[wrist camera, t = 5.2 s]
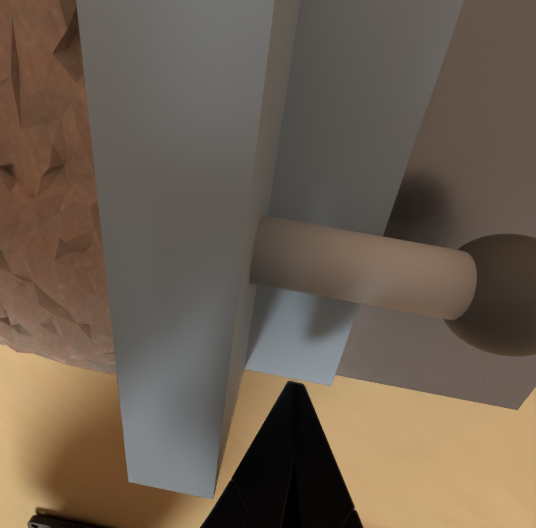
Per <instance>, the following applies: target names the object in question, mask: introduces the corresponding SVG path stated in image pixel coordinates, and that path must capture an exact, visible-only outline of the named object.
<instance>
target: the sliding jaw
mask: <svg viewBox="0 0 536 528" xmlns="http://www.w3.org/2000/svg"><path fill="white" fill-rule="evenodd" d="M463 2H464V0H76V3H77V13H78V22H79V31H80V40H81V49H82V59H83V68H84V77H85V86H86V95H87V105H88V114H89V123H90V132H91V141H92V151H93V160H94V169H95V178H96V187H97V197H98V206H99V215H100V224H101V234H102V243H103V252H104V261H105V270H106V280H107V289H108V298H109V307H110V316H111V326H112V335H113V344H114V353H115V362H116V372H117V381H118V390H119V399H120V409H121V418H122V427H123V436H124V445H125V455H126V464H127V473H128V482H131V483H136V484H141V485H146V486H150V487H155V488H160V489H165V490H170V491H174V492H179V493H184V494H189V495H194V496H198V497H203V498H208V499H213V498H214V493H215V489H216V485H217V481H218V477H219V472H220V468H221V464H222V460H223V456H224V451H225V447H226V443H227V439H228V435H229V430H230V426H231V422H232V418H233V414H234V409H235V405H236V401H237V397H238V393H239V388H240V384H241V380H242V376H243V371H244V369H246V370H251V371H256V372H261V373H267V374H272V375H277V376H282V377H287V378H292V379H297V380H303V381H308V382H313V383H318V384H323V385H328V386H331V385H332V382H333V379H334V376H335V373H336V370H337V367H338V365H339V362H340V359H341V356H342V353H343V350H344V347H345V344H346V341H347V338H348V336H349V333H350V330H351V327H352V324H353V321H354V318H355V315H356V312H357V309H358V307H359V304H360V303H361V304H367V305H372V306H377V307H383V308H388V309H393V310H399V311H404V312H410V313H415V314H420V315H426V316H431V317H437V318H442V319H443V320H444V322H445V323H446V324H447V326H448V327H449V328H450V330H451V331H453V332H454V333H455V334H456V335H457V336H458V337H459V338H460V339H462V340H463V341H465V342H466V343H468V344H469V345H471V346H473V347H475V348H477V349H480V350H482V351H485V352H488V353H492V354H496V355H501V356H511V357H523V356H531V355H536V238H534V237H530V236H526V235H520V234H495V235H489V236H484V237H481V238H478V239H475V240H473V241H470V242H468V243H466V244H465V245H463V246H461V247H460V248H458V249H457V250H455V249H450V248H444V247H439V246H433V245H427V244H422V243H416V242H411V241H405V240H400V239H394V238H388V237H383V234H384V231H385V228H386V225H387V222H388V220H389V217H390V214H391V211H392V208H393V205H394V202H395V199H396V196H397V193H398V191H399V188H400V185H401V182H402V179H403V176H404V173H405V170H406V167H407V164H408V162H409V159H410V156H411V153H412V150H413V147H414V144H415V141H416V138H417V135H418V133H419V130H420V127H421V124H422V121H423V118H424V115H425V112H426V109H427V106H428V104H429V101H430V98H431V95H432V92H433V89H434V86H435V83H436V80H437V77H438V75H439V72H440V69H441V66H442V63H443V60H444V57H445V54H446V51H447V48H448V46H449V43H450V40H451V37H452V34H453V31H454V28H455V25H456V22H457V19H458V17H459V14H460V11H461V8H462V5H463Z"/></svg>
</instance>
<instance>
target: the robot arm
mask: <svg viewBox="0 0 536 528" xmlns="http://www.w3.org/2000/svg"><path fill="white" fill-rule="evenodd" d="M354 509H355V506H354V504H353V501H352V499H351V496H350V494H349V492H348V489H347V487H346V484H345V482H344V479H343V477H342V475H341V472H340V470H339V467H338V465H337V463H336V460H335V458H334V455H333V453H332V450H331V448H330V446H329V443H328V441H327V438H326V436H325V433H324V431H323V429H322V426H321V424H320V421H319V419H318V417H317V414H316V412H315V409H314V407H313V404H312V402H311V400H310V397H309V395H308V392H307V390H306V387H305V386H304V384H302V383H297V382H293V381H288V382H287V384H286V385H285V387H284V389H283V390H282V392H281V394H280V396H279V397H278V399H277V401H276V402H275V404H274V406H273V408H272V409H271V411H270V413H269V414H268V416H267V418H266V420H265V421H264V423H263V425H262V427H261V428H260V430H259V432H258V433H257V435H256V437H255V439H254V440H253V442H252V444H251V445H250V447H249V449H248V451H247V452H246V454H245V456H244V457H243V459H242V461H241V463H240V464H239V466H238V468H237V470H236V471H235V473H234V475H233V476H232V478H231V481H229V483H228V485H227V486H226V488H225V490H224V491H223V493H222V495H221V496H220V498H219V500H218V501H217V503H216V504H215V506H214V508H213V509H212V511H211V512H210V514H209V516H208V517H207V518H206V520H205V521H204V523H203V524H202V525H201V527H200V528H363V525H362V523H361V520H360V518H359V515H358V513H357V511H356V510H354ZM353 510H354V511H353ZM27 525H28V527H29V528H94V527H89V526H85V525H80V524H75V523H71V522H66V521H61V520H57V519H52V518H47V517H42V516H38V515H33V516H32V517H31V519H30V520H29V522H28V523H27Z"/></svg>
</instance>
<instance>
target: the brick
mask: <svg viewBox="0 0 536 528" xmlns="http://www.w3.org/2000/svg"><path fill="white" fill-rule="evenodd" d="M0 345H6V346H8V347H10V348H11V349H13V350H14V351H16V352H21V353H33V354H36V355H39V356H42V357H45V358H49V359H52V360H55V361H58V362H61V363H64V364H67V365H71V366H75V367H80V368H84V369H89V370H93V371H98V372H102V373H107V374H117V372H116V362H115V353H114V344H113V335H112V326H111V316H110V307H109V298H108V289H107V280H106V270H105V261H104V252H103V243H102V234H101V224H100V215H99V206H98V197H97V187H96V178H95V169H94V160H93V151H92V141H91V132H90V123H89V114H88V105H87V95H86V86H85V77H84V68H83V59H82V49H81V40H80V31H79V22H78V13H77V3H76V0H0Z"/></svg>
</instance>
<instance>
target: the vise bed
mask: <svg viewBox="0 0 536 528" xmlns="http://www.w3.org/2000/svg"><path fill="white" fill-rule="evenodd" d="M495 234H520V235H526V236H530V237H534V238H536V0H464V2H463V5H462V8H461V11H460V14H459V17H458V19H457V22H456V25H455V28H454V31H453V34H452V37H451V40H450V43H449V46H448V48H447V51H446V54H445V57H444V60H443V63H442V66H441V69H440V72H439V75H438V77H437V80H436V83H435V86H434V89H433V92H432V95H431V98H430V101H429V104H428V106H427V109H426V112H425V115H424V118H423V121H422V124H421V127H420V130H419V133H418V135H417V138H416V141H415V144H414V147H413V150H412V153H411V156H410V159H409V162H408V164H407V167H406V170H405V173H404V176H403V179H402V182H401V185H400V188H399V191H398V193H397V196H396V199H395V202H394V205H393V208H392V211H391V214H390V217H389V220H388V222H387V225H386V228H385V231H384V234H383V237H388V238H394V239H400V240H405V241H411V242H416V243H422V244H427V245H433V246H439V247H444V248H450V249H455V250H457V249H458V248H460V247H461V246H463V245H465V244H466V243H468V242H470V241H473V240H475V239H478V238H481V237H484V236H489V235H495ZM335 375H339V376H344V377H349V378H354V379H360V380H365V381H370V382H375V383H380V384H385V385H391V386H396V387H401V388H406V389H411V390H416V391H422V392H427V393H432V394H437V395H442V396H447V397H453V398H458V399H463V400H468V401H473V402H478V403H484V404H489V405H494V406H499V407H504V408H509V409H515V410H518V409H519V407H520V406H521V405H522V404H523V402H524V401H525V400H526V398H527V397H528V396H529V395H530V393H531V392H532V391H533V389H534V388H535V387H536V355H531V356H523V357H511V356H501V355H496V354H492V353H488V352H485V351H482V350H480V349H477V348H475V347H473V346H471V345H469V344H468V343H466V342H465V341H463V340H462V339H460V338H459V337H458V336H457V335H456V334H455V333H454V332H453V331H451V330H450V328H449V327H448V326H447V324H446V323H445V322H444V320H443V319H442V318H437V317H431V316H426V315H420V314H415V313H410V312H404V311H399V310H393V309H388V308H383V307H377V306H372V305H367V304H361V303H360V304H359V307H358V309H357V312H356V315H355V318H354V321H353V324H352V327H351V330H350V333H349V336H348V338H347V341H346V344H345V347H344V350H343V353H342V356H341V359H340V362H339V365H338V367H337V370H336V373H335Z"/></svg>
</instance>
